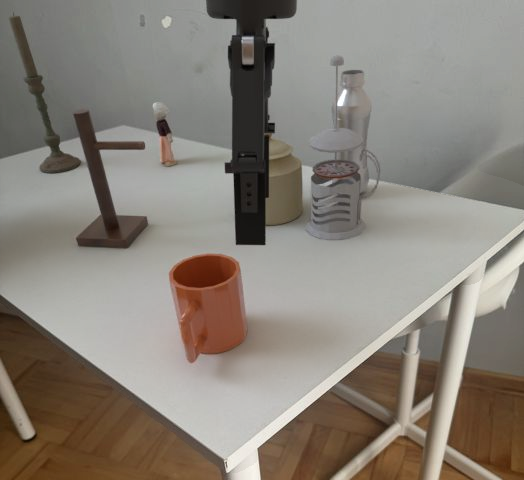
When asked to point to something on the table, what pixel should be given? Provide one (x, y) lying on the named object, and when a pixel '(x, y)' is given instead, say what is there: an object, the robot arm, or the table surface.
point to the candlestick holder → (41, 104)
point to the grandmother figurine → (164, 134)
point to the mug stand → (105, 191)
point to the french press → (337, 182)
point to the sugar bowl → (283, 184)
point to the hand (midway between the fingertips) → (254, 218)
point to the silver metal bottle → (353, 120)
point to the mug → (209, 303)
